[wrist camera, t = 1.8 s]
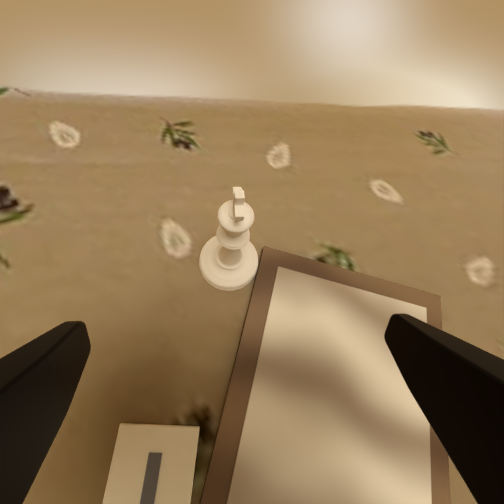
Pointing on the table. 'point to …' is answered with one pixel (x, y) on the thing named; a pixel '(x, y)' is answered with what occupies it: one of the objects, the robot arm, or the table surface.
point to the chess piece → (231, 247)
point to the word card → (152, 464)
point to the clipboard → (324, 395)
